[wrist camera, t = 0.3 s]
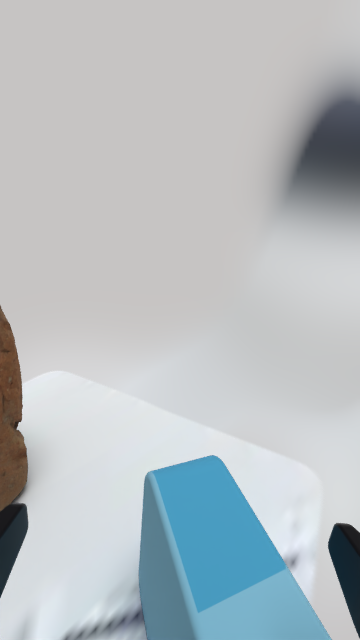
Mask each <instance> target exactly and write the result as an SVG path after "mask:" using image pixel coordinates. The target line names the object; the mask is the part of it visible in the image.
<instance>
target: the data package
mask: <svg viewBox="0 0 360 640" xmlns="http://www.w3.org/2000/svg"><path fill="white" fill-rule="evenodd" d="M139 587H140V596H141V604H142V610H143V616H144V622H145V628H146V633H147V639H148V640H332V639H331V638H330V636H329V634H328V633H327V631H326V630H325V628H324V626H323V625H322V623H321V621H320V620H319V618H318V616H317V615H316V613H315V611H314V610H313V608H312V607H311V605H310V603H309V602H308V600H307V598H306V597H305V595H304V593H303V592H302V590H301V589H300V587H299V585H298V584H297V582H296V580H295V579H294V577H293V575H292V574H291V572H290V571H289V569H288V567H287V566H286V564H285V562H284V561H283V559H282V557H281V556H280V554H279V553H278V551H277V549H276V548H275V546H274V544H273V543H272V541H271V539H270V538H269V536H268V535H267V533H266V531H265V530H264V528H263V526H262V525H261V523H260V521H259V520H258V518H257V517H256V515H255V513H254V512H253V510H252V508H251V507H250V505H249V503H248V502H247V500H246V499H245V497H244V495H243V494H242V492H241V490H240V489H239V487H238V485H237V484H236V482H235V481H234V479H233V477H232V476H231V474H230V472H229V471H228V469H227V467H226V466H225V464H224V463H223V462H222V461H221V459H219V458H218V457H216V456H213V455H212V456H207V457H203V458H200V459H196V460H192V461H188V462H184V463H181V464H177V465H173V466H169V467H165V468H161V469H158V470H154V471H150V472H148V473H147V475H146V477H145V481H144V496H143V513H142V529H141V545H140V562H139Z"/></svg>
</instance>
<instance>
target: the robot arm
mask: <svg viewBox="0 0 360 640" xmlns="http://www.w3.org/2000/svg"><path fill="white" fill-rule="evenodd" d="M27 530H28V515H27V506H26V505H25V504H24V503H11V504H9V505H7V506H6V507H5V508H4V509H3V510H1V511H0V597H1V595H2V593H3V590H4V588H5V585H6V583H7V580H8V578H9V575H10V573H11V570H12V568H13V565H14V563H15V561H16V558H17V556H18V553H19V551H20V548H21V546H22V543H23V541H24V538H25V536H26V533H27ZM328 549H329V553H330V556H331V559H332V562H333V565H334V567H335V571H336V574H337V577H338V579H339V582H340V585H341V588H342V591H343V594H344V597H345V600H346V603H347V606H348V609H349V612H350V615H351V617H352V620H353V623H354V625H355V628H356V631H357V633H358V636H359V638H360V533H359V532H358V531H357V530H356V529H355V528H354V527H353V526H351V525H349V524H344V523H336V524H335V525H334V527H333V530H332V533H331V536H330V539H329V542H328Z"/></svg>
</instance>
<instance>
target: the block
mask: <svg viewBox="0 0 360 640" xmlns="http://www.w3.org/2000/svg"><path fill="white" fill-rule="evenodd" d="M22 407H23V405H22V381H21V372H20V365H19V360H18V355H17V349H16V346H15V340H14V336H13V333H12V330H11V327H10V324H9V322H8V321H7V319H6V317H5V315H4V313H3V311H2V309H1V306H0V511H1V510H3V509H4V508H5V507H6V506H7V505H9V504H10V503H11V502H12V501H13V500H14V499H15V498H16V497H17V496H18V495H19V494H20V492H21V491H22V489H23V488H24V486H25V484H26V482H27V472H28V463H27V454H26V451H27V448H26V446H25V444H24V437H23V435H22V434H21V433H20V431H19V430H16V429H17V427H18V423H19V422H21V420H22Z"/></svg>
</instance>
